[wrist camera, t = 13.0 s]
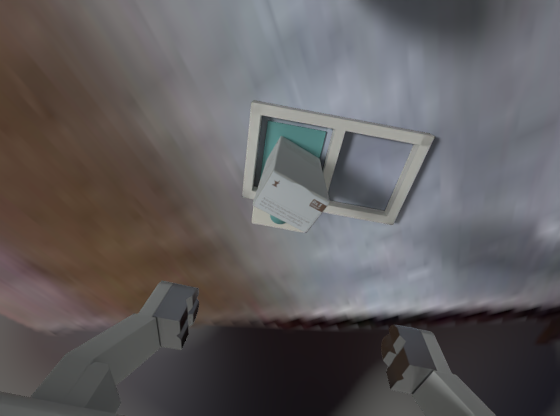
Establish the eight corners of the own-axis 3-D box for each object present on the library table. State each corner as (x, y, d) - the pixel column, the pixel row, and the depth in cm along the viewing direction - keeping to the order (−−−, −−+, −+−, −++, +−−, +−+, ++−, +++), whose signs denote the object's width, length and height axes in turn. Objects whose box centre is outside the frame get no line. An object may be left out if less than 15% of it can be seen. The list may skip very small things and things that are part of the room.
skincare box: (265, 162, 34) (246, 207, 23) (282, 132, 32) (270, 168, 21) (304, 184, 35) (304, 237, 24) (323, 157, 33) (331, 203, 22)
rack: (429, 133, 30) (434, 136, 29) (377, 245, 39) (380, 251, 38) (253, 100, 30) (251, 102, 29) (241, 219, 39) (239, 225, 38)
